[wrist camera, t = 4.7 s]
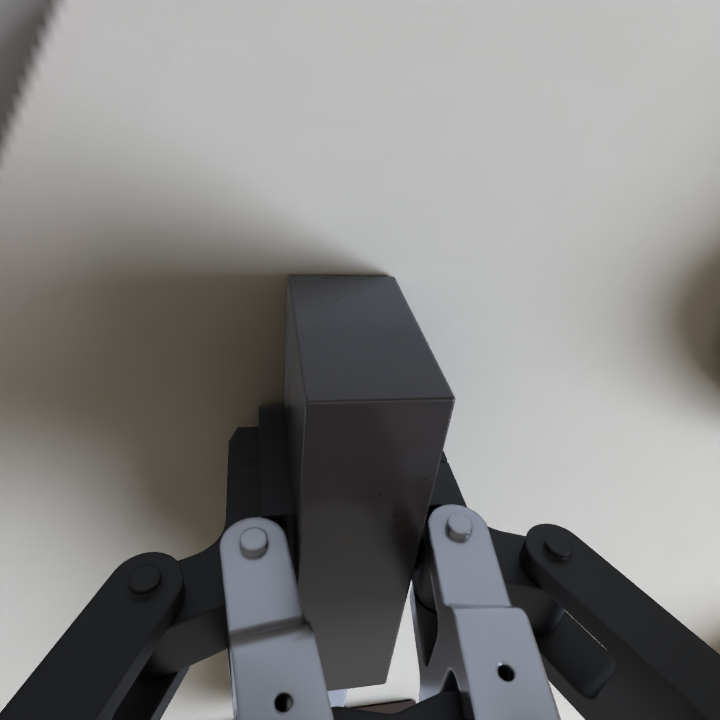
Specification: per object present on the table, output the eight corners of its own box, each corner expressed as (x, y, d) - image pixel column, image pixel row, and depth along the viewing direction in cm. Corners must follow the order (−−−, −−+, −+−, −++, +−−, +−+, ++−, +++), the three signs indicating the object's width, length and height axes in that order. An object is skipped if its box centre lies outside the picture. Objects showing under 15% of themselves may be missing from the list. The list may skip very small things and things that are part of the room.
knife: (287, 273, 12) (305, 402, 8) (395, 275, 12) (457, 398, 9) (275, 701, 22) (281, 841, 19) (333, 693, 23) (350, 829, 19)
